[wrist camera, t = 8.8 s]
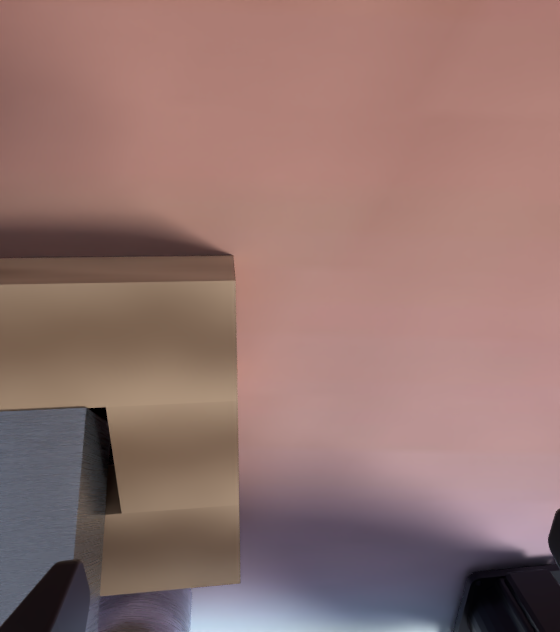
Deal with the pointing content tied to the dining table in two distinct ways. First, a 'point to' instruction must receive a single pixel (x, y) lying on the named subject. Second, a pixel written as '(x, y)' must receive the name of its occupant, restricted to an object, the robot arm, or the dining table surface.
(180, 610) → the clear glass jar
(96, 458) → the square bit
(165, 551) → the bore block
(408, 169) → the dining table surface
